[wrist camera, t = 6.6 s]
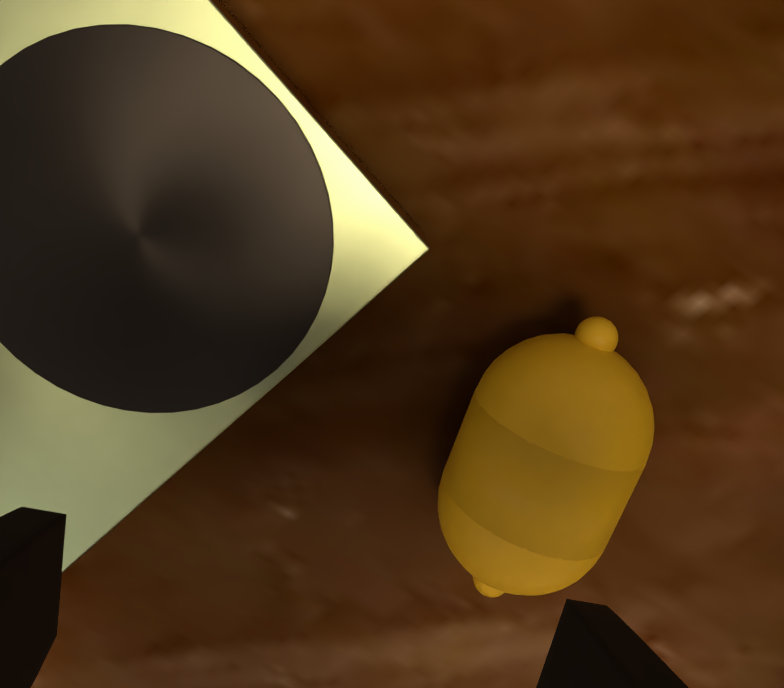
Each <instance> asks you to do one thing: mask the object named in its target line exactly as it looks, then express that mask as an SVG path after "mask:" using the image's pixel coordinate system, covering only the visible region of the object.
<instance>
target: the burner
mask: <svg viewBox="0 0 784 688" xmlns="http://www.w3.org/2000/svg"><path fill="white" fill-rule="evenodd" d="M333 249H334V232H333V216H332V210H331V204H330V198H329V193H328V190H327V186H326V183H325V180H324V176H323V173H322V170H321V167H320V165H319V163H318V160H317V158H316V156H315V154H314V151H313V149H312V147H311V145H310V143H309V141H308V140H307V138H306V136H305V135H304V133H303V131H302V130H301V128H300V126H299V125H298V123H297V121H296V120H295V119H294V117H293V116H292V115H291V114H290V112H289V111H288V110H287V108H286V107H285V106H284V105H283V103H282V102H281V101H280V100H279V98H278V97H277V96H276V95H274V94H273V93H272V92H271V91H270V90H269V89H268V88H267V87H266V86H265V85H264V84H263V83H262V82H261V81H260V80H259V79H258V78H257V77H256V76H254V75H253V74H252V73H250V72H249V71H248V70H246V69H245V68H244V67H243V66H241V65H240V64H239V63H237V62H236V61H234V60H232V59H231V58H229V57H227V56H226V55H224V54H222V53H221V52H219V51H217V50H215V49H214V48H212V47H210V46H207V45H205V44H203V43H200V42H198V41H196V40H193V39H191V38H189V37H186V36H184V35H180V34H177V33H173V32H169V31H166V30H162V29H158V28H153V27H146V26H138V25H131V24H101V25H94V26H87V27H81V28H74V29H71V30H68V31H64V32H61V33H58V34H55V35H51V36H48V37H46V38H44V39H42V40H40V41H38V42H36V43H34V44H32V45H30V46H28V47H26V48H24V49H22V50H21V51H20V52H18V53H17V54H15V55H14V56H12V57H11V58H9V59H8V60H7V61H5V62H4V63H2V64H1V65H0V343H1V344H2V345H3V346H4V347H5V348H6V349H7V350H8V351H9V352H10V353H11V354H12V355H13V356H14V357H15V358H17V359H18V360H19V361H20V362H22V363H23V364H24V365H25V366H27V367H28V368H29V369H31V370H32V371H33V372H34V373H36V374H37V375H39V376H40V377H42V378H44V379H45V380H47V381H48V382H50V383H52V384H53V385H55V386H57V387H58V388H61V389H63V390H65V391H67V392H69V393H71V394H73V395H75V396H77V397H79V398H82V399H85V400H88V401H91V402H94V403H97V404H100V405H103V406H107V407H112V408H116V409H121V410H125V411H134V412H143V413H175V412H182V411H189V410H196V409H200V408H204V407H208V406H211V405H215V404H219V403H221V402H223V401H226V400H228V399H231V398H233V397H235V396H238V395H240V394H242V393H243V392H245V391H247V390H249V389H250V388H252V387H254V386H256V385H257V384H259V383H260V382H262V381H263V380H264V379H265V378H267V377H268V376H269V375H271V374H272V373H273V372H275V371H276V370H277V369H278V368H279V367H280V366H281V365H282V364H283V363H284V362H285V361H286V360H287V359H288V358H289V357H290V356H291V355H292V354H293V352H294V351H295V350H296V348H297V347H298V346H299V344H300V343H301V342H302V340H303V339H304V338H305V336H306V335H307V333H308V331H309V329H310V327H311V326H312V324H313V322H314V320H315V318H316V317H317V315H318V312H319V309H320V307H321V304H322V301H323V299H324V296H325V294H326V290H327V286H328V282H329V277H330V273H331V269H332V259H333Z"/></svg>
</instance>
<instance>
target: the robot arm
mask: <svg viewBox="0 0 784 688" xmlns="http://www.w3.org/2000/svg"><path fill="white" fill-rule="evenodd" d="M65 526H66V514H63V513H57V512H51V511H45V510H39V509H33V508H27V507H19V508H17V509H15V510H13V511H11V512H9V513H7V514H5V515H3V516H1V517H0V688H31V686H32V684H33V682H34V680H35V678H36V676H37V674H38V672H39V670H40V668H41V666H42V664H43V662H44V660H45V658H46V656H47V654H48V652H49V650H50V648H51V646H52V644H53V642H54V640H55V638H56V635H57V625H58V613H59V601H60V588H61V576H62V563H63V551H64V539H65ZM536 688H688V687H687V686H686V685H685V684H684V683H683V682H682V680H681V679H680V678H679V677H678V676H677V675H676V674H675V673H674V672H673V671H672V670H671V669H670V668H669V667H668V666H667V665H666V664H665V663H664V662H663V661H662V660H661V659H660V658H659V657H658V656H657V655H656V654H655V653H654V652H653V651H652V650H651V649H650V647H649V646H648V645H647V644H646V643H645V642H644V641H643V640H642V639H641V638H640V637H639V636H638V635H637V634H636V633H635V632H634V631H633V630H632V629H631V628H630V627H629V626H628V625H627V624H626V623H625V622H624V621H623V620H622V619H621V618H620V617H619V616H617V615H616V614H615V613H614V612H613V611H612V610H611V609H610V608H609V607H608V606H605V605H599V604H594V603H588V602H582V601H576V600H570V599H567V600H566V603H565V606H564V609H563V612H562V615H561V617H560V620H559V623H558V626H557V629H556V632H555V635H554V638H553V641H552V644H551V647H550V649H549V652H548V655H547V658H546V661H545V664H544V667H543V670H542V673H541V676H540V678H539V681H538V684H537V687H536Z"/></svg>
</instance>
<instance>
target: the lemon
mask: <svg viewBox="0 0 784 688" xmlns="http://www.w3.org/2000/svg"><path fill="white" fill-rule="evenodd" d="M617 343H618V332H617V329H616V327H615V326H614V324H613V323H612V322H611V321H609V320H608V319H606V318H603V317H598V316H595V317H590V318H587V319H585V320H583V321H582V322H581V323H580V324H579V325H578V327H577V328H576V331H575V335H572V334H565V333H559V334H545V335H540V336H536V337H533V338H529V339H526V340H524V341H522V342H520V343H518V344H516V345H514V346H512V347H510V348H509V349H507V350H506V351H505V352H503V353H502V354H501V355H500V356H499V357H497V358H496V359H495V360H494V361H493V362H492V364H491V365H490V366H489V367H488V369H487V370H486V371H485V372H484V374H483V376H482V378H481V380H480V382H479V384H478V386H477V388H476V389H475V391H474V394H473V396H472V399H471V402H470V404H469V407H468V409H467V412H466V414H465V417H464V419H463V422H462V425H461V427H460V430H459V432H458V435H457V437H456V440H455V442H454V445H453V448H452V450H451V453H450V455H449V458H448V460H447V463H446V466H445V468H444V471H443V474H442V478H441V481H440V485H439V490H438V515H439V521H440V526H441V529H442V532H443V535H444V537H445V540H446V542H447V544H448V547H449V548H450V550H451V552H452V553H453V555H454V556H455V557H456V558H457V560H458V561H459V562H460V563H461V565H462V566H463V567H464V568H465V569H466V570H467V571H468V572H469V573H470V574H471V575H472V576H473V582H474V585H475V587H476V589H477V590H478V591H479V592H480V593H481V594H483V595H485V596H488V597H498V596H500V595H502V594H503V593H510V594H515V595H532V596H536V595H544V594H548V593H551V592H555V591H558V590H561V589H563V588H566V587H567V586H569V585H571V584H573V583H575V582H576V581H578V580H579V579H580V578H581V577H582V576H584V575H585V574H586V573H587V572H588V571H589V570H590V569H591V568H592V567H593V566H594V565H595V564H596V562H597V561H598V559H599V558H600V556H601V554H602V553H603V551H604V549H605V548H606V546H607V544H608V541H609V539H610V537H611V535H612V533H613V531H614V529H615V527H616V525H617V523H618V521H619V519H620V517H621V515H622V513H623V511H624V509H625V507H626V505H627V502H628V500H629V498H630V496H631V494H632V492H633V490H634V488H635V486H636V484H637V482H638V480H639V478H640V476H641V474H642V472H643V470H644V468H645V465H646V462H647V459H648V456H649V453H650V451H651V448H652V445H653V437H654V429H655V425H654V415H653V408H652V405H651V402H650V398H649V395H648V392H647V389H646V387H645V386H644V384H643V382H642V380H641V379H640V377H639V375H638V373H637V372H636V371H635V370H634V369H633V368H632V367H631V365H630V364H629V363H628V362H627V361H626V360H625V359H624V358H623V357H622V356H621V355H619V354H618V353H616V352H615V351H614V349H615V348H616V346H617Z"/></svg>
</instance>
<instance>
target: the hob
mask: <svg viewBox="0 0 784 688" xmlns="http://www.w3.org/2000/svg"><path fill="white" fill-rule="evenodd" d="M101 24H131V25H138V26H146V27H153V28H158V29H162V30H166V31H169V32H173V33H177V34H180V35H184V36H186V37H189V38H191V39H193V40H196V41H198V42H200V43H203V44H205V45H207V46H210V47H212V48H214V49H215V50H217V51H219V52H221V53H222V54H224V55H226V56H227V57H229V58H231V59H232V60H234V61H236V62H237V63H239V64H240V65H241V66H243V67H244V68H245V69H246V70H248V71H249V72H250V73H252V74H253V75H254V76H256V77H257V78H258V79H259V80H260V81H261V82H262V83H263V84H264V85H265V86H266V87H267V88H268V89H269V90H270V91H271V92H272V93H273V94H274V95H276V96H277V97H278V98H279V100H280V101H281V102H282V103H283V105H284V106H285V107H286V108H287V110H288V111H289V112H290V114H291V115H292V116H293V117H294V119H295V120H296V121H297V123H298V125H299V126H300V128H301V130H302V131H303V133H304V135H305V136H306V138H307V140H308V141H309V143H310V145H311V147H312V149H313V151H314V154H315V156H316V158H317V160H318V163H319V165H320V167H321V170H322V173H323V176H324V180H325V183H326V186H327V190H328V193H329V198H330V204H331V210H332V216H333V232H334V249H333V259H332V269H331V273H330V277H329V282H328V286H327V290H326V294H325V296H324V299H323V301H322V304H321V307H320V309H319V312H318V315H317V317H316V318H315V320H314V322H313V324H312V326H311V327H310V329H309V331H308V333H307V335H306V336H305V338H304V339H303V340H302V342H301V343H300V344H299V346H298V347H297V348H296V350H295V351H294V352H293V354H292V355H291V356H290V357H289V358H288V359H287V360H286V361H285V362H284V363H283V364H282V365H281V366H280V367H279V368H278V369H277V370H276V371H275V372H273V373H272V374H271V375H269V376H268V377H267V378H265V379H264V380H263V381H262V382H260V383H259V384H257V385H256V386H254V387H252V388H250V389H249V390H247V391H245V392H243V393H242V394H240V395H238V396H235V397H233V398H231V399H228V400H226V401H223V402H221V403H219V404H215V405H211V406H208V407H204V408H200V409H196V410H189V411H182V412H175V413H143V412H134V411H125V410H121V409H116V408H112V407H107V406H103V405H100V404H97V403H94V402H91V401H88V400H85V399H82V398H79V397H77V396H75V395H73V394H71V393H69V392H67V391H65V390H63V389H61V388H58V387H57V386H55V385H53V384H52V383H50V382H48V381H47V380H45V379H44V378H42V377H40V376H39V375H37V374H36V373H34V372H33V371H32V370H31V369H29V368H28V367H27V366H25V365H24V364H23V363H22V362H20V361H19V360H18V359H17V358H15V357H14V356H13V355H12V354H11V353H10V352H9V351H8V350H7V349H6V348H5V347H4V346H3V345H2V344H1V343H0V517H1V516H3V515H5V514H7V513H9V512H11V511H13V510H15V509H17V508H19V507H27V508H33V509H39V510H45V511H51V512H57V513H63V514H66V526H65V539H64V551H63V563H62V573H63V572H64V571H65V570H66V569H68V568H69V567H70V566H71V565H72V564H73V563H74V562H76V561H77V560H78V559H79V558H80V557H81V556H82V555H84V554H85V553H86V552H87V551H88V550H89V549H90V548H91V547H93V546H94V545H95V544H96V543H97V542H98V541H99V540H101V539H102V538H103V537H104V536H105V535H106V534H107V533H109V532H110V531H111V530H112V529H113V528H114V527H115V526H116V525H118V524H119V523H120V522H121V521H122V520H123V519H124V518H126V517H127V516H128V515H129V514H130V513H131V512H132V511H134V510H135V509H136V508H137V507H138V506H139V505H140V504H141V503H143V502H144V501H145V500H146V499H147V498H148V497H149V496H151V495H152V494H153V493H154V492H155V491H156V490H157V489H158V488H160V487H161V486H162V485H163V484H164V483H165V482H166V481H168V480H169V479H170V478H171V477H172V476H173V475H174V474H176V473H177V472H178V471H179V470H180V469H181V468H182V467H183V466H185V465H186V464H187V463H188V462H189V461H190V460H191V459H193V458H194V457H195V456H196V455H197V454H198V453H199V452H201V451H202V450H203V449H204V448H205V447H206V446H207V445H208V444H210V443H211V442H212V441H213V440H214V439H215V438H216V437H218V436H219V435H220V434H221V433H222V432H223V431H224V430H226V429H227V428H228V427H229V426H230V425H231V424H232V423H233V422H235V421H236V420H237V419H238V418H239V417H240V416H241V415H243V414H244V413H245V412H246V411H247V410H248V409H249V408H251V407H252V406H253V405H254V404H255V403H256V402H257V401H258V400H260V399H261V398H262V397H263V396H264V395H265V394H266V393H268V392H269V391H270V390H271V389H272V388H273V387H274V386H276V385H277V384H278V383H279V382H280V381H281V380H282V379H283V378H285V377H286V376H287V375H288V374H289V373H290V372H291V371H293V370H294V369H295V368H296V367H297V366H298V365H299V364H301V363H302V362H303V361H304V360H305V359H306V358H307V357H308V356H310V355H311V354H312V353H313V352H314V351H315V350H316V349H318V348H319V347H320V346H321V345H322V344H323V343H324V342H326V341H327V340H328V339H329V338H330V337H331V336H332V335H333V334H335V333H336V332H337V331H338V330H339V329H340V328H341V327H343V326H344V325H345V324H346V323H347V322H348V321H349V320H350V319H352V318H353V317H354V316H355V315H356V314H357V313H358V312H360V311H361V310H362V309H363V308H364V307H365V306H366V305H368V304H369V303H370V302H371V301H372V300H373V299H374V298H375V297H377V296H378V295H379V294H380V293H381V292H382V291H383V290H385V289H386V288H387V287H388V286H389V285H390V284H391V283H393V282H394V281H395V280H396V279H397V278H398V277H399V276H400V275H402V274H403V273H404V272H405V271H406V270H407V269H408V268H410V267H411V266H412V265H413V264H414V263H415V262H416V261H418V260H419V259H420V258H421V257H422V256H423V255H424V254H425V253H427V252H428V251H429V249H430V248H429V246H428V243H427V241H426V239H425V236H424V234H423V232H422V231H421V230H420V229H419V228H418V226H417V225H416V224H415V223H414V222H413V221H412V220H411V218H410V217H409V216H408V215H407V214H406V213H405V212H404V210H403V209H402V208H401V207H400V206H399V205H398V204H397V202H396V201H395V200H394V199H393V198H392V197H391V196H390V195H389V193H388V192H387V191H386V190H385V189H384V188H383V187H382V185H381V184H380V183H379V182H378V181H377V180H376V179H375V177H374V176H373V175H372V174H371V173H370V172H369V171H368V169H367V168H366V167H365V166H364V165H363V164H362V163H361V162H360V160H359V159H358V158H357V157H356V156H355V155H354V154H353V152H352V151H351V150H350V149H349V148H348V147H347V146H346V144H345V143H344V142H343V141H342V140H341V139H340V138H339V136H338V135H337V134H336V133H335V132H334V131H333V130H332V128H331V127H330V126H329V125H328V124H327V123H326V122H325V121H324V119H323V118H322V117H321V116H320V115H319V114H318V113H317V111H316V110H315V109H314V108H313V107H312V106H311V105H310V103H309V102H308V101H307V100H306V99H305V98H304V97H303V95H302V94H301V93H300V92H299V91H298V90H297V89H296V87H295V86H294V85H293V84H292V83H291V82H290V81H289V80H288V78H287V77H286V76H285V75H284V74H283V73H282V72H281V70H280V69H279V68H278V67H277V66H276V65H275V64H274V62H273V61H272V60H271V59H270V58H269V57H268V56H267V54H266V53H265V52H264V51H263V50H262V49H261V48H260V46H259V45H258V44H257V43H256V42H255V41H254V40H253V39H252V37H251V36H250V35H249V34H248V33H247V32H246V31H245V29H244V28H243V27H242V26H241V25H240V24H239V23H238V21H237V20H236V19H235V18H234V17H233V16H232V15H231V13H230V12H229V11H228V10H227V9H226V8H225V7H224V5H223V4H222V3H221V2H220V1H219V0H0V65H1V64H2V63H4V62H5V61H7V60H8V59H9V58H11V57H12V56H14V55H15V54H17V53H18V52H20V51H21V50H22V49H24V48H26V47H28V46H30V45H32V44H34V43H36V42H38V41H40V40H42V39H44V38H46V37H48V36H51V35H55V34H58V33H61V32H64V31H68V30H71V29H74V28H81V27H87V26H94V25H101Z"/></svg>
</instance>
